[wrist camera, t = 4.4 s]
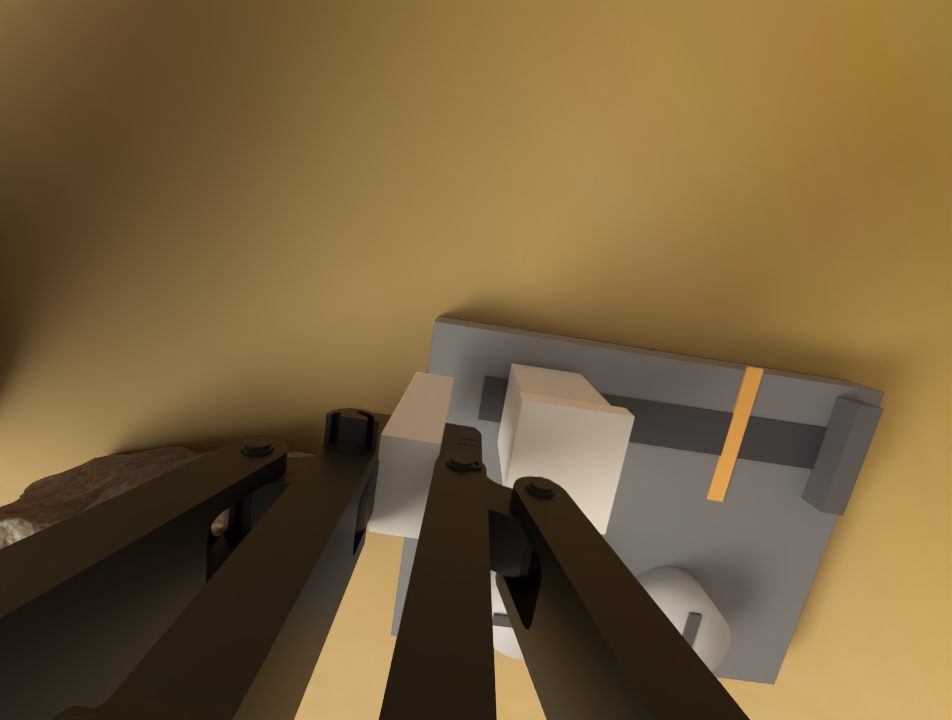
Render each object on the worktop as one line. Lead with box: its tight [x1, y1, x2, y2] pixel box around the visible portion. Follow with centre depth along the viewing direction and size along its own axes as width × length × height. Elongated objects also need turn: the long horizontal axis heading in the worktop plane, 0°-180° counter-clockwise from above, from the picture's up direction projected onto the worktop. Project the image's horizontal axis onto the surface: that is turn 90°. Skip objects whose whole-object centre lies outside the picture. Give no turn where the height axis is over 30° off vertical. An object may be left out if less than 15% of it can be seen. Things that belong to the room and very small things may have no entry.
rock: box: [0, 446, 315, 549], centre depth 19 cm, size 14×9×10 cm
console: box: [391, 316, 884, 685], centre depth 20 cm, size 20×16×5 cm
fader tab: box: [497, 363, 635, 535], centre depth 16 cm, size 3×4×6 cm
